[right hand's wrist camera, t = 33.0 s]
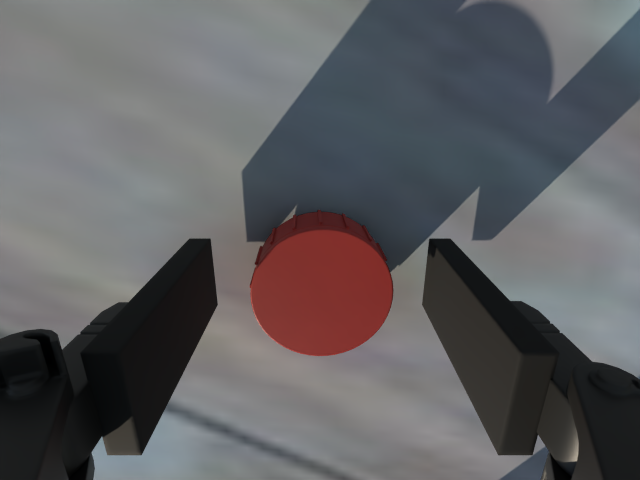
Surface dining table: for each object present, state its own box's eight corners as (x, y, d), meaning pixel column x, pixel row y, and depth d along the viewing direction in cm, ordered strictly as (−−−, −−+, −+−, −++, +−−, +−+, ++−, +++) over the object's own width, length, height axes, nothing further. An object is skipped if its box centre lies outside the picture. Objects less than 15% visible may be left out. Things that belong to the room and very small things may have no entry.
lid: (391, 312, 15) (403, 343, 13) (273, 336, 15) (268, 369, 13) (373, 197, 13) (385, 213, 11) (240, 224, 13) (230, 244, 12)
